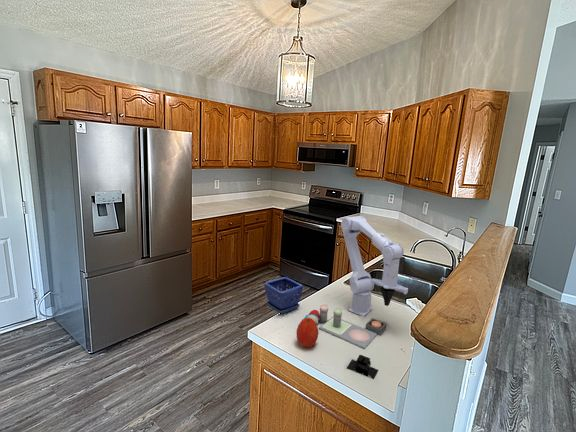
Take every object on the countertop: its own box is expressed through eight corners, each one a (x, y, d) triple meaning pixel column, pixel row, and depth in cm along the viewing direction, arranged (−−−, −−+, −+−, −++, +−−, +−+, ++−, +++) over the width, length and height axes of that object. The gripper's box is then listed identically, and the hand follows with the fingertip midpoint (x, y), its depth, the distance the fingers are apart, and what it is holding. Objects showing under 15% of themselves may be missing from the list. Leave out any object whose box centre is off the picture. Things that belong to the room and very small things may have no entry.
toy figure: (315, 341, 120) (324, 317, 134) (314, 331, 119) (323, 307, 132) (297, 338, 123) (308, 314, 136) (295, 328, 122) (307, 305, 135)
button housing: (371, 323, 132) (372, 318, 131) (386, 329, 128) (386, 323, 127) (365, 329, 127) (365, 324, 126) (380, 335, 123) (380, 330, 122)
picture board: (333, 317, 135) (333, 315, 135) (377, 335, 123) (377, 333, 123) (318, 328, 126) (318, 327, 126) (364, 349, 114) (364, 347, 114)
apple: (312, 336, 121) (314, 311, 119) (321, 348, 113) (323, 322, 111) (293, 339, 118) (294, 313, 116) (300, 352, 111) (301, 325, 109)
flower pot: (262, 306, 143) (263, 282, 140) (284, 298, 151) (285, 275, 148) (280, 318, 133) (281, 292, 130) (302, 309, 141) (304, 285, 139)
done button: (373, 324, 130) (373, 319, 129) (382, 327, 127) (382, 323, 127) (369, 327, 127) (370, 323, 126) (378, 331, 124) (379, 326, 124)
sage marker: (335, 322, 130) (336, 307, 128) (342, 325, 128) (343, 310, 126) (330, 326, 127) (332, 310, 126) (338, 329, 125) (339, 313, 124)
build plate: (341, 369, 104) (342, 357, 103) (349, 357, 110) (350, 346, 109) (377, 384, 97) (379, 372, 96) (384, 371, 103) (385, 359, 102)
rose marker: (320, 318, 134) (321, 304, 132) (328, 320, 132) (329, 305, 131) (317, 322, 130) (318, 307, 129) (325, 324, 129) (326, 309, 128)
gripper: (369, 271, 125) (366, 302, 128) (405, 281, 117) (401, 314, 119) (376, 267, 131) (373, 296, 134) (411, 276, 122) (407, 307, 125)
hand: (386, 304), depth 127 cm, fingers closed
